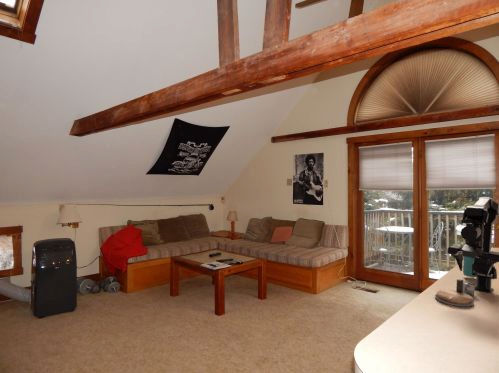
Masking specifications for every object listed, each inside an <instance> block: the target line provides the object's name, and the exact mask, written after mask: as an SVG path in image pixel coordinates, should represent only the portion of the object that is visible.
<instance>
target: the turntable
mask: <svg viewBox="0 0 499 373" xmlns="http://www.w3.org/2000/svg"><path fill="white" fill-rule="evenodd" d="M463 282H464V279H460V278H458V279H456V286H455V288H456V290H453V289H442V290H441V289H440V290H437V291H436V294H437V297H438V298H440V299H442V300H444V301H447V302H451V303H456V304H470V303H472V302H473V301H474V299H473V297H471V296H470V295H468V294H465V293H462V292H463Z"/></svg>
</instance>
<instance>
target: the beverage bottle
mask: <svg viewBox="0 0 499 373" xmlns="http://www.w3.org/2000/svg"><path fill="white" fill-rule="evenodd" d="M474 259H475V258H471V257H464V256H463V267H462V271H463V272H462V273H463V276H466V277H468V278H469V277H470V278H477V276H473V275H472V264H473V262H474Z"/></svg>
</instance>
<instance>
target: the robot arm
mask: <svg viewBox="0 0 499 373" xmlns="http://www.w3.org/2000/svg"><path fill="white" fill-rule="evenodd" d="M462 214H463V215H462V220H461V224H465V226H464V227H462V228H461V230H460V236H461V238H463V239H464V240H465V243H464V245H463V246H459V245H454V244H453V245H451V246H448V248H447V252H446V253H447V254H448V255H450V256H451V257H453V258H454V259H455V261H456V263H457V266H458V269H459V271H460V272H462V271H463V266H464V264H463V263H464V260H463V258H464V257H471V258H475V259H474V262H473V264H472V275H473V276H477V277H476V284H475V290H477V291H481V292H485V293H489V294H490V293H491V292H493V291H494V288H493V287H492V280H497V279H498V270H497V267H496V266H495V264H497V263H499V252H498V251H492V238H493V229H494V228H493V227H494V226H493V225H494V224H495V223H496V221H498V216H499V203H498V202H496V201H494V199H493V198H492V197H488V196H487V197H486V196H481V197H478V200H477V201H476V202H475V203H474V204H472V205H471V204H470V205H467V206H466V207H465V208H464V210H463V213H462Z"/></svg>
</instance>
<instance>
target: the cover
mask: <svg viewBox="0 0 499 373" xmlns="http://www.w3.org/2000/svg"><path fill="white" fill-rule="evenodd" d="M475 286H476V284H475V283H473V282H469V281H463V292H462V293H465V294H468V295H470V296H471V297H472V298H473V297H475V290H476V289H475Z"/></svg>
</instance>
